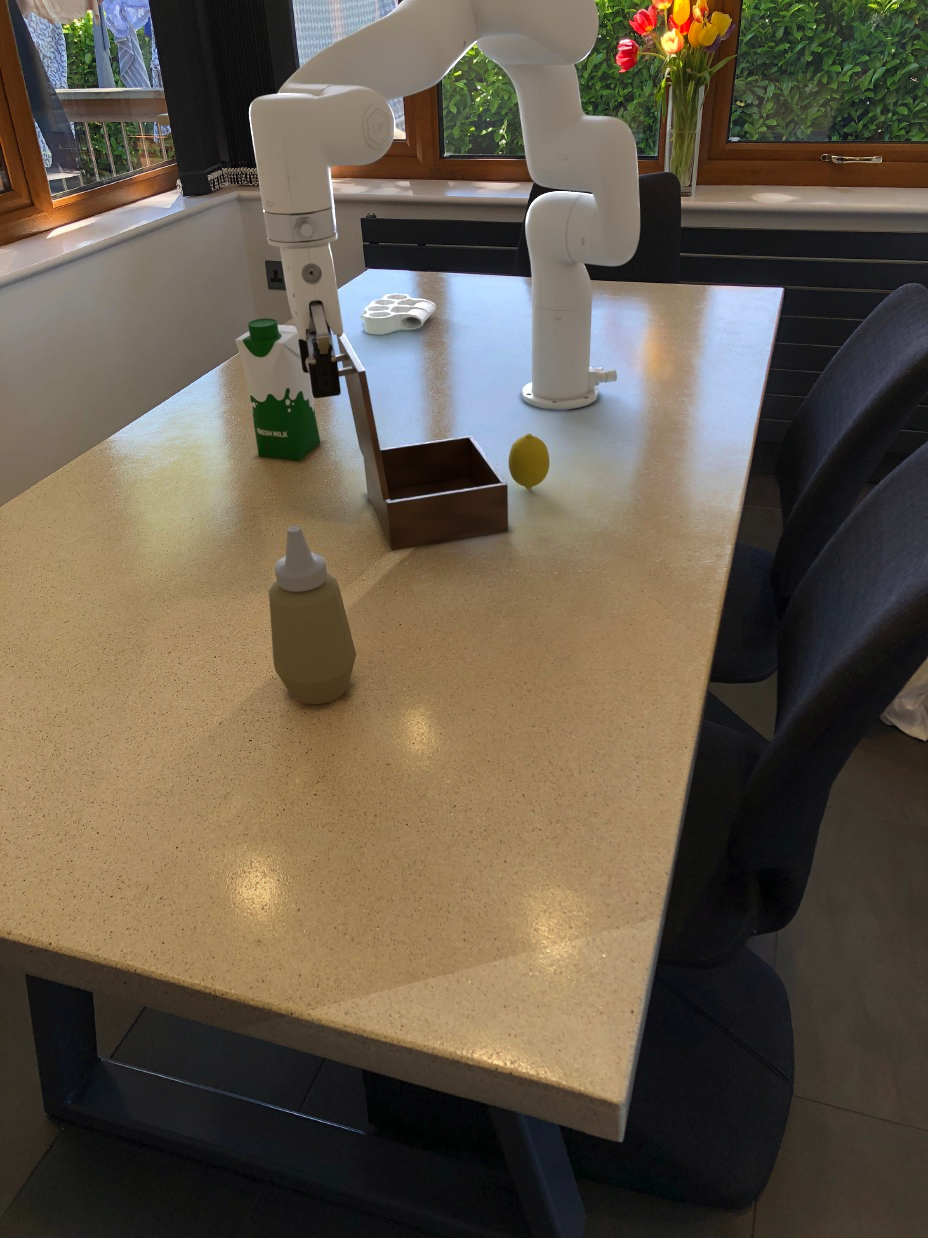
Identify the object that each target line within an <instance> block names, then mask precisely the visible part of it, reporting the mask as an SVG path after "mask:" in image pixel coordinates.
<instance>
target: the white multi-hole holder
mask: <svg viewBox="0 0 928 1238" xmlns="http://www.w3.org/2000/svg"><path fill="white" fill-rule="evenodd" d="M436 308H437V306H436V304H435V303H434V302H433V301H431V300H429V299H424V298H412V297H411V296H409V295H408V294H406V293H405V294H404V293H391V294H385V295H383V297H381V298H379V299H375V300H373V301H371V302H369V305H368V306H365V307H364V312H363V313H362V314H360V315H358V316H357V318H358V319H360V320H362V321H363V322H364V331H365V333H366V334H369V335H375V336H376V335H378V336H379V335H381V336H382V335H388V334H391V333H393V332H397V331H413V330H418V329H420V328H421V327H423V326H424V324H425V322H426V321H427V320H429V318H430V316H431V315H432V314H433V313H434V312H435V311H436Z"/></svg>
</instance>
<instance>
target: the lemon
mask: <svg viewBox="0 0 928 1238" xmlns="http://www.w3.org/2000/svg"><path fill="white" fill-rule="evenodd" d="M549 470H550V454H549V450H548V447H547V445H546V443H545V442H544V441H543V440H542V439H540V438H539V437H538V436H536V435H533V434H531V433H527V434H525V435H523V436H521V437H519V438H518V439H516V440H515V441H514V442H513V443H512V446H511V447H510V450H509V455H508V471H509V474H510V477H511V478H512V479H513V480H514V482H515V483H516V484H518V485H519V486H522V487H524V488H525V489H527V490H531V489H532V488H533V487H536V486H538V485H539V484H541V483H542V482H543V481H544V480H545V479H546V478H547V474H548V473H549Z"/></svg>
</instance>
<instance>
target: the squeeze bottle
mask: <svg viewBox="0 0 928 1238" xmlns="http://www.w3.org/2000/svg"><path fill="white" fill-rule="evenodd" d="M285 545H286V546H285V556H283V557H281V558H280V559H279V560H277V562H276V563H275V565H274V572H275V578H276V581H274V582H273V583H272V584H271V586H270V588H269V590H268V601H269V602H268V604H269V615H270V631H271V646H272V647H271V648H272V662H273V667H274V671H275V673H276V675H277V676H278V678H279V679H280V680H281V681H282V683H283V685H284V686H285V688H286V689H287V691H288V692H289V694H290V695H291V697H293V699H294V700H295V701H298V702H300V703H303V704H305V705H321V704H326V703H331V702H332V701H335V700H336V699H339V698H341V697H342V695H343V694H345V693H346V692H347V690H348V688H349V684H350V681H351V676H352V673H353V669H354V666H355V661H356V658H357V651H356V648H355V647H356V646H355V644H354V641H353V636H352V632H351V628H350V625H349V621H348V617H347V612H346V608H345V604H344V601H343V600H344V599H343V596H342V593H341V592H342V591H341V589H340V585H339V582H338V579H337V578H336V577H334V576H333V575H332V574H330V573H329V572H328V570H327V563H326V559H325V558H324V557H323V556H322V555H320V554H319V553H315V552H312V551H311V549H310V547H309V544H308V542H307V540H306V537H305V535H304V532H303V530H302V528H301V526H299V525H291V526H289V527H288V528H287V533H286V544H285Z"/></svg>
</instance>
